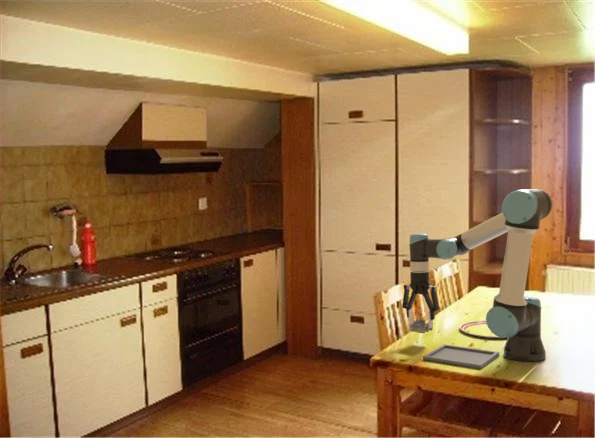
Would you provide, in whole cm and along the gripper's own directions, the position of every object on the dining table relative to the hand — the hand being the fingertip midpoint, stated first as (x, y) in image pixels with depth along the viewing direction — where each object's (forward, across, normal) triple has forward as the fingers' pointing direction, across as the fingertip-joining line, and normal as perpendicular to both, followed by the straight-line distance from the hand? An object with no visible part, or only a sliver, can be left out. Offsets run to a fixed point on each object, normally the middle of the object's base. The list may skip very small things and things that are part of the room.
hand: (420, 326), depth 256 cm
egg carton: (+3, +3, 0) cm, 4 cm away
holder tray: (+9, -20, +7) cm, 23 cm away
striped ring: (+9, -17, -35) cm, 40 cm away
